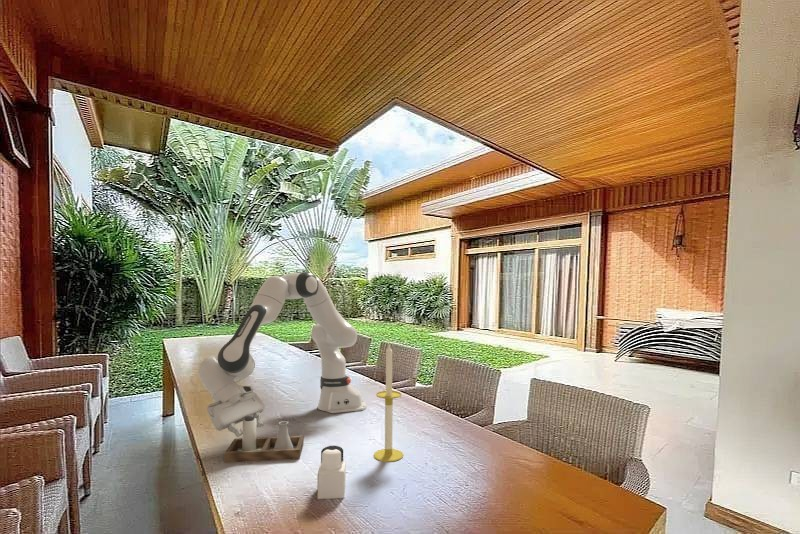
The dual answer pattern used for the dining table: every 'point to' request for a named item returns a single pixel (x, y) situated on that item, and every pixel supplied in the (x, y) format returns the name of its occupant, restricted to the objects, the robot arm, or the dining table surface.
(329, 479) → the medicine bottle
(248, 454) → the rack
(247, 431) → the white capped tube
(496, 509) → the dining table surface
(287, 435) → the flask
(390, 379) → the candle
